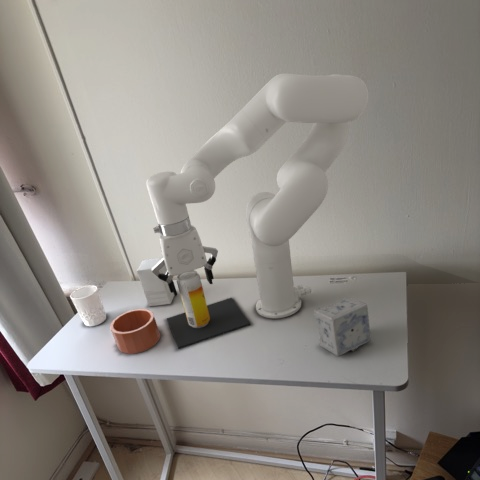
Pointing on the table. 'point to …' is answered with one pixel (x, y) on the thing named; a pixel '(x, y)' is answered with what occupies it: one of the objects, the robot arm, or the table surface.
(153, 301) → the white packaging box
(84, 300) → the white cup
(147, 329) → the pot
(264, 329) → the table surface
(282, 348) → the table surface
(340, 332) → the incense holder
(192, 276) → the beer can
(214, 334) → the mat
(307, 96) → the robot arm
